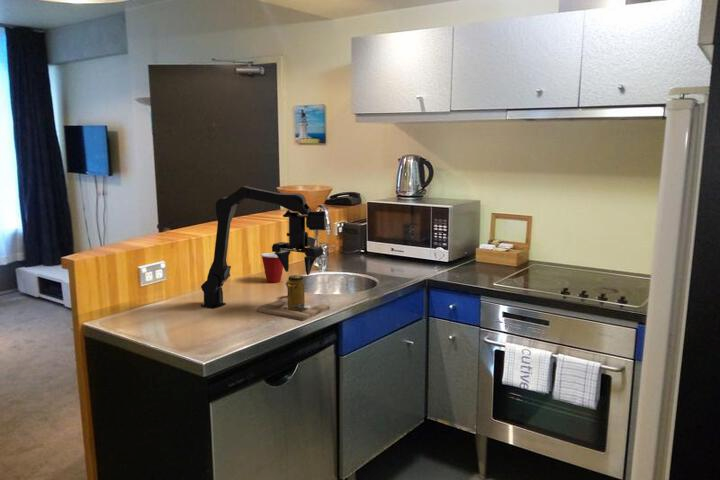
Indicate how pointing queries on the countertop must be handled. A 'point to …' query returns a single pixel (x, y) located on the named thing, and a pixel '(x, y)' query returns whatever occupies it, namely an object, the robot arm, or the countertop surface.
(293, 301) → the condiment
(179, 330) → the countertop surface
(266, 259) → the plastic cup
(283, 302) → the brown frame
